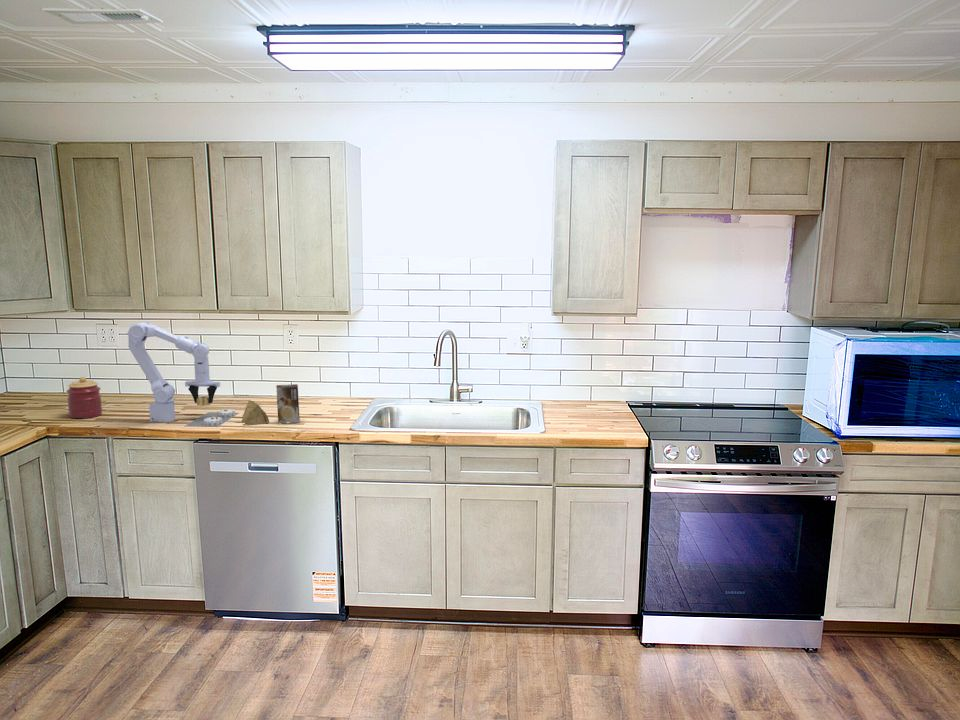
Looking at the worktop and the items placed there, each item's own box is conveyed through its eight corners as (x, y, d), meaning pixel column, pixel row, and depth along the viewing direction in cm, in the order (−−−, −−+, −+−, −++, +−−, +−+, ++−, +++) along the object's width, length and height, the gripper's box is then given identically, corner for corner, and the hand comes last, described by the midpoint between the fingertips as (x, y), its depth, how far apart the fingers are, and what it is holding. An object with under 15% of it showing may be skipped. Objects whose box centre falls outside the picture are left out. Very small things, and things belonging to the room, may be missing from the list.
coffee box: (299, 419, 292) (298, 383, 290) (299, 423, 286) (298, 386, 284) (277, 420, 290) (276, 384, 287) (277, 424, 284) (276, 387, 281)
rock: (275, 415, 289) (255, 410, 291) (269, 403, 282) (249, 398, 285) (262, 435, 282) (242, 429, 284) (255, 422, 276) (235, 417, 278)
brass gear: (194, 405, 284) (194, 398, 283) (200, 402, 289) (199, 396, 289) (207, 406, 284) (207, 399, 283) (212, 403, 289) (212, 396, 289)
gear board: (184, 428, 275) (183, 419, 274) (208, 414, 298) (208, 405, 298) (217, 429, 275) (217, 419, 274) (239, 414, 298) (239, 406, 298)
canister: (92, 410, 302) (89, 372, 299) (108, 414, 296) (105, 376, 293) (62, 416, 291) (59, 377, 288) (78, 420, 285) (75, 380, 282)
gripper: (222, 370, 288) (224, 400, 290) (189, 370, 288) (191, 400, 290) (215, 373, 281) (217, 404, 283) (182, 372, 281) (183, 404, 283)
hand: (203, 402), depth 286 cm, fingers closed on brass gear, 6 cm apart
